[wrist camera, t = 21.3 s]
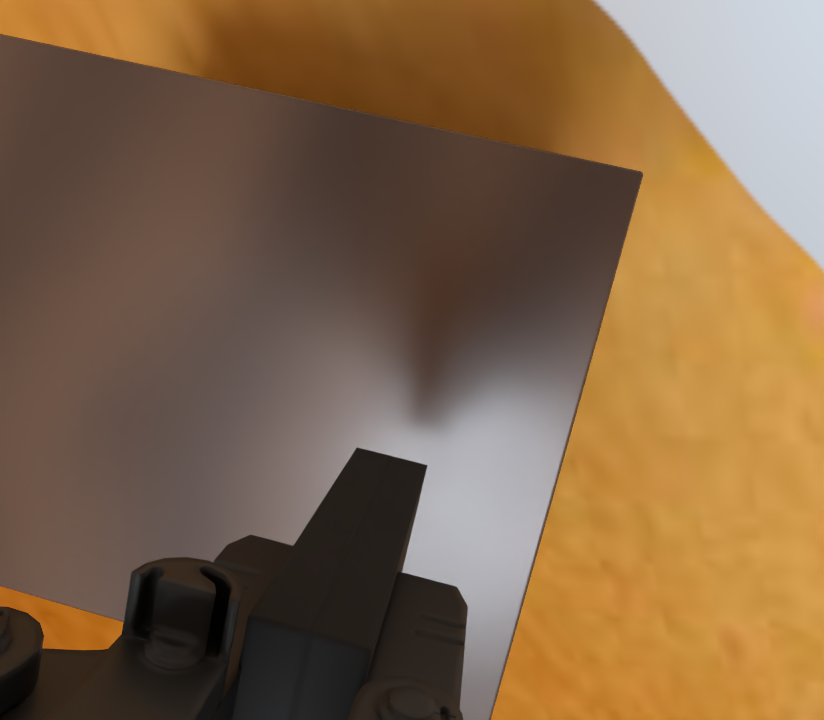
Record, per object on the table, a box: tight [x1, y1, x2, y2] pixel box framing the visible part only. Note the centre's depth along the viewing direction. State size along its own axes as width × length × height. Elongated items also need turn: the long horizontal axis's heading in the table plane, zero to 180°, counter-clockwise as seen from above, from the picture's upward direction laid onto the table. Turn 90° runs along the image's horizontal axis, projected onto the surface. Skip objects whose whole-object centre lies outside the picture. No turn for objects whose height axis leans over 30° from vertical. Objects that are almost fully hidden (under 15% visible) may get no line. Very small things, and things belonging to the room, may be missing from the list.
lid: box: [0, 34, 643, 720], centre depth 21 cm, size 19×17×1 cm
